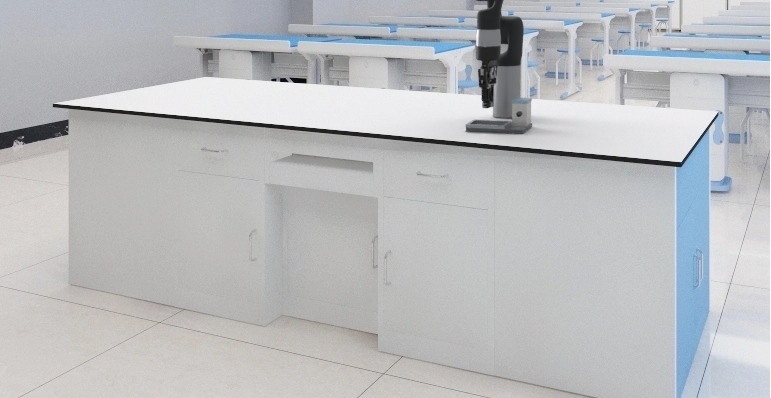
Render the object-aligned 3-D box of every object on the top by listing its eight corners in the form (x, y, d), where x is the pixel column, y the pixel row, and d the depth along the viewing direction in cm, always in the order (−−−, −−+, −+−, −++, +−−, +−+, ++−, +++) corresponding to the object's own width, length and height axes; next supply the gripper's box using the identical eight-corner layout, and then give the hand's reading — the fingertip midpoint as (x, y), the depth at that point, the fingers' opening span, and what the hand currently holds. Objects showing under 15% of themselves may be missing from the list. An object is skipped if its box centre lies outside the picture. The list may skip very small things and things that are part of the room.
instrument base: (477, 124, 300) (477, 96, 298) (532, 126, 294) (532, 97, 292) (465, 131, 289) (465, 101, 286) (522, 134, 282) (523, 103, 280)
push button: (491, 109, 284) (491, 76, 282) (474, 108, 287) (475, 75, 284) (498, 106, 290) (498, 74, 288) (482, 105, 292) (482, 73, 290)
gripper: (482, 42, 292) (482, 96, 296) (469, 45, 279) (469, 102, 283) (506, 42, 289) (505, 97, 293) (493, 46, 276) (493, 103, 281)
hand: (487, 99), depth 288 cm, fingers closed on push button, 4 cm apart
